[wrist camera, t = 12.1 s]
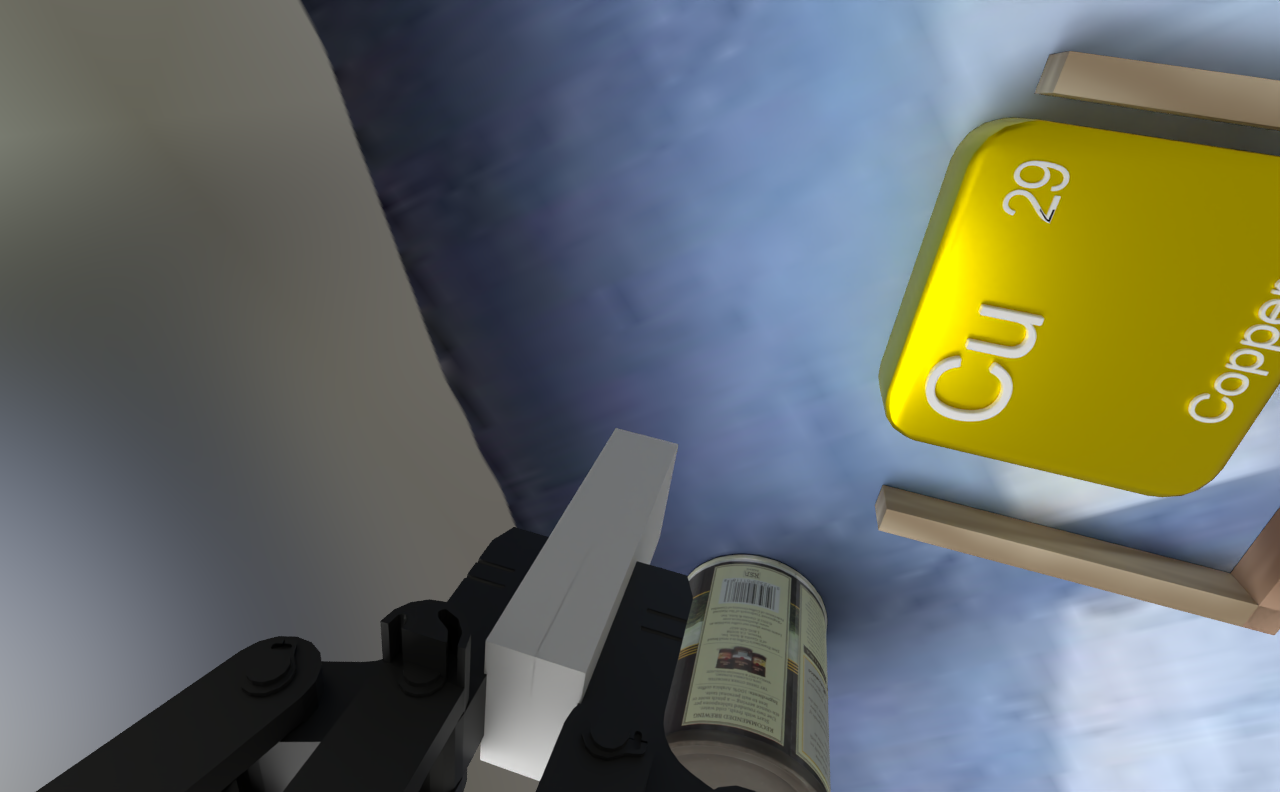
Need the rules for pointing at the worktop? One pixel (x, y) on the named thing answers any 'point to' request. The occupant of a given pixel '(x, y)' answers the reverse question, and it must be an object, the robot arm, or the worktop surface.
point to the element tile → (1092, 306)
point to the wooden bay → (1248, 596)
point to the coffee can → (752, 679)
